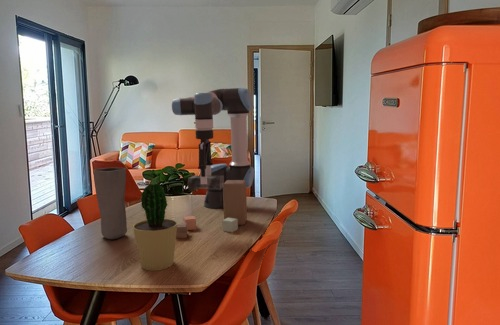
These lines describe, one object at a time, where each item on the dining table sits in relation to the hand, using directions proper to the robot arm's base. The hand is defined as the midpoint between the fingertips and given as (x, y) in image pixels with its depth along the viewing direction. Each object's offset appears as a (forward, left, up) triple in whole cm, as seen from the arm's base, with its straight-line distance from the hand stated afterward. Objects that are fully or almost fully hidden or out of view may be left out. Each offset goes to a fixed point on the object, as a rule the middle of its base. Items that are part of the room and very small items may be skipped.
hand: (206, 181), depth 180 cm
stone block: (0, 0, -3) cm, 3 cm away
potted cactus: (+36, -11, -23) cm, 44 cm away
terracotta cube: (-8, -10, -23) cm, 27 cm away
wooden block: (-18, +10, -24) cm, 31 cm away
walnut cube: (+4, -11, -23) cm, 26 cm away
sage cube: (-6, +9, -23) cm, 26 cm away
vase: (+7, -40, -23) cm, 47 cm away
